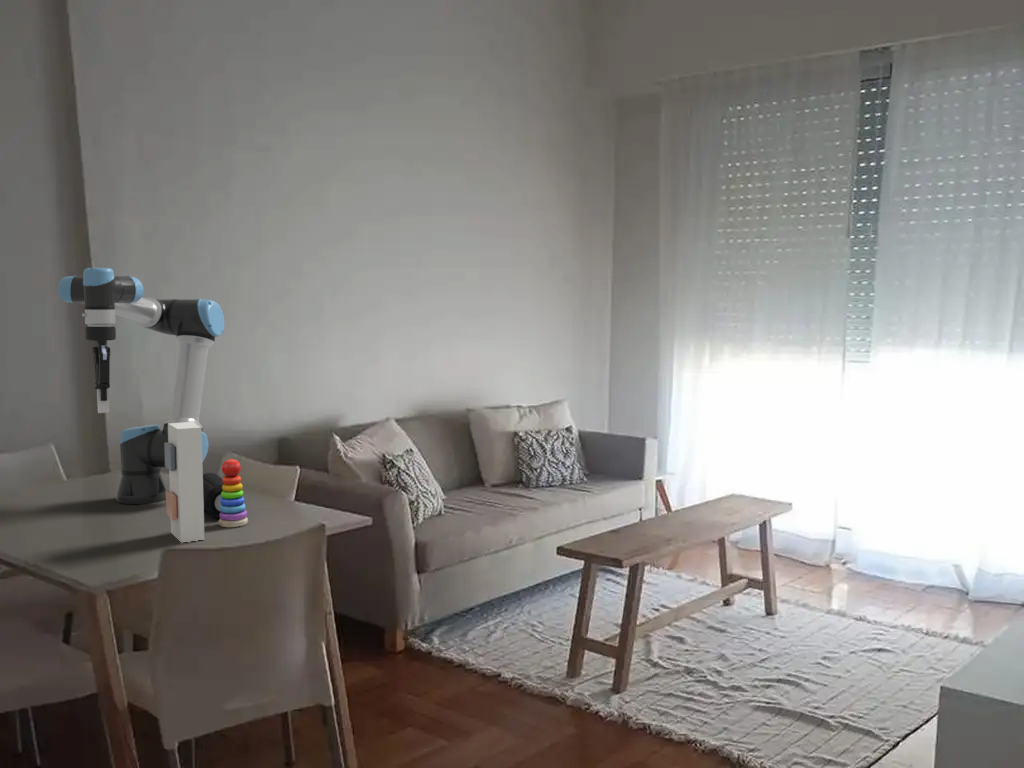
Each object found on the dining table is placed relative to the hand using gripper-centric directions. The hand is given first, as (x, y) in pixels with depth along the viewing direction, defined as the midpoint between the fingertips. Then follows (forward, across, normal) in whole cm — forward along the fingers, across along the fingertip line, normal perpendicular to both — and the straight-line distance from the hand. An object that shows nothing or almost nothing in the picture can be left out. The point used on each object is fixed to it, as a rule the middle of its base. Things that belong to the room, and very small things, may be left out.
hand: (103, 412), depth 251 cm
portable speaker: (+33, -7, +31) cm, 46 cm away
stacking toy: (+33, +12, +31) cm, 47 cm away
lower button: (+27, +19, +16) cm, 36 cm away
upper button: (+14, +19, +16) cm, 28 cm away
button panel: (+32, +19, +17) cm, 41 cm away
